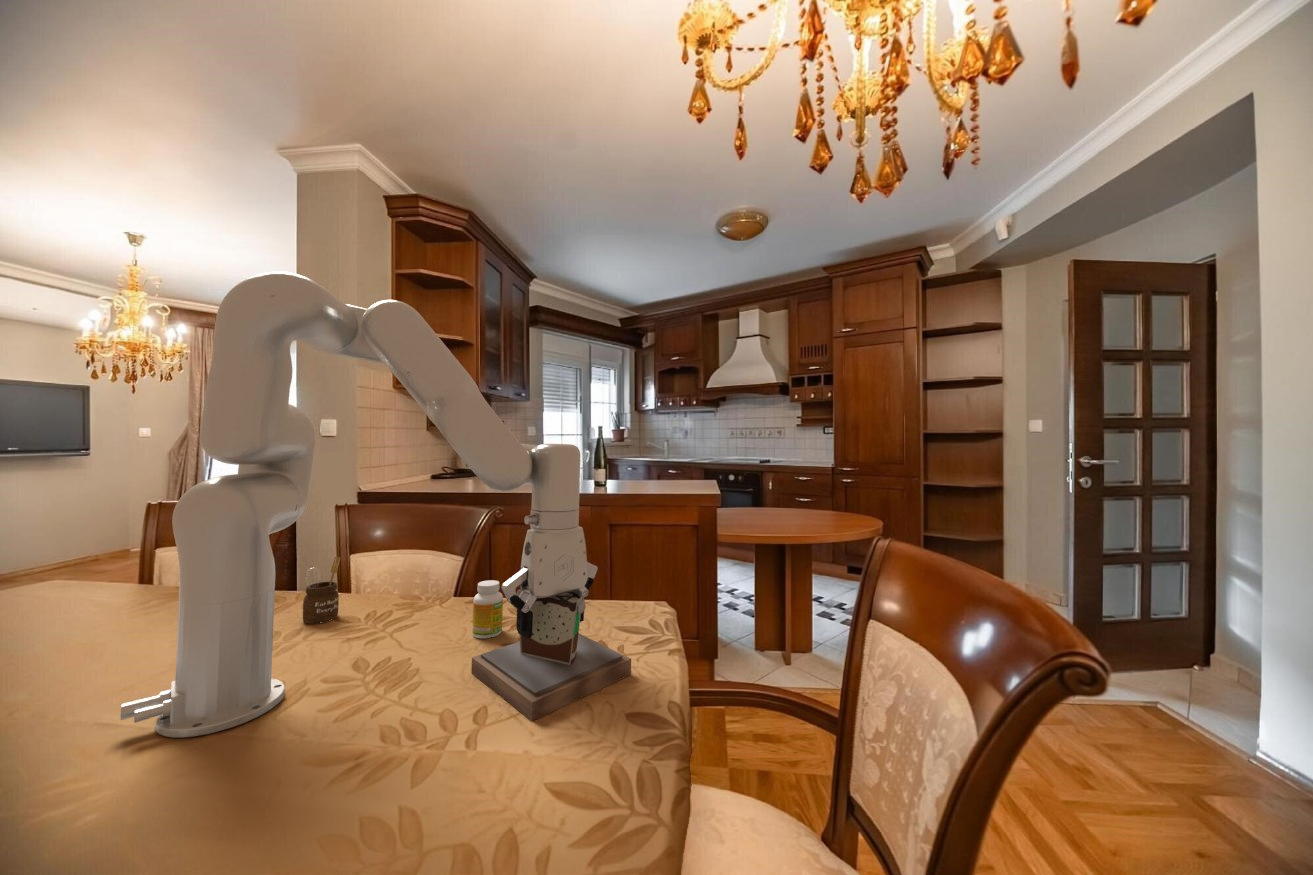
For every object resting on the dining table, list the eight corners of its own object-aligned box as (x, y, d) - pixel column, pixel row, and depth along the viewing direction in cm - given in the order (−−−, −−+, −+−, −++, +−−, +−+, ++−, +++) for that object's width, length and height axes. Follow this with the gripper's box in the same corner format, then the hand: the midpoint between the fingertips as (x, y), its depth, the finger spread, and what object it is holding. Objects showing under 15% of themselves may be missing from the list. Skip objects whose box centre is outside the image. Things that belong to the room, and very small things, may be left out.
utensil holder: (294, 622, 92) (297, 562, 92) (325, 612, 98) (327, 555, 98) (316, 626, 90) (318, 565, 90) (346, 615, 96) (348, 558, 96)
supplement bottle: (495, 639, 86) (497, 587, 86) (467, 638, 86) (468, 586, 86) (505, 628, 91) (507, 579, 91) (479, 627, 91) (480, 578, 91)
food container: (598, 650, 75) (600, 589, 75) (578, 667, 69) (580, 600, 70) (536, 637, 80) (537, 580, 80) (513, 652, 74) (514, 589, 74)
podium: (531, 721, 60) (532, 698, 61) (471, 673, 73) (471, 654, 73) (630, 674, 73) (631, 655, 74) (565, 640, 86) (565, 624, 86)
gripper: (518, 529, 65) (514, 651, 64) (611, 518, 77) (608, 620, 77) (493, 522, 70) (489, 635, 70) (583, 513, 83) (581, 608, 82)
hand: (551, 627), depth 73 cm, fingers open, 9 cm apart
